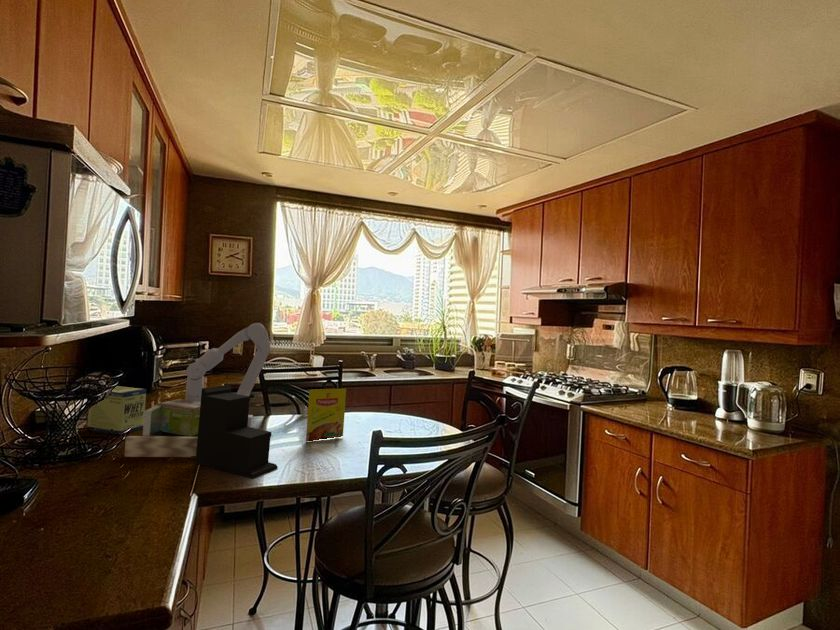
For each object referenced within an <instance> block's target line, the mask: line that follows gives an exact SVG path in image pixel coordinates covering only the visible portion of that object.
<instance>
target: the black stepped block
mask: <svg viewBox="0 0 840 630" xmlns="http://www.w3.org/2000/svg"><path fill="white" fill-rule="evenodd" d="M250 402H251V396H250V395H249V396H245V395H239V394H237V393H234V392H233V393H232V385H231V384H226V385H225V384H224V385H217V386H209V387H208V386H207V387H204V388H202V393H201V404H200V416H199V427H198V438H197V450H196V457H195V460H194V461H195V464H197V465H198V464H199V465H203V466H204V467H205V466H206V467H208V468H209V467H210V468H212V469H215V470H218V471H219V470H220V471H223V472H227V473H230V474H234V475H237V476H240V477H241V476H242V477H245V478H249V479H256V478H258V477H260V476H263V475H266V474H268V473H270V472H273V471H276V470H278V465H277V463H273V462H269V460H270V459H269V458H270V457H269V456H270V445H271V437H272V431H268V430H264V429H259V428H254V427H253V428H251V427H247V426H248V415H250V414H249V413H250Z"/></svg>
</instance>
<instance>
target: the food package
mask: <svg viewBox="0 0 840 630" xmlns="http://www.w3.org/2000/svg"><path fill="white" fill-rule="evenodd" d="M308 391H309V393H308V405H307V407H308V408H307V419H306V420H307V421H306V435H305V436H306V437H305V442H306V441H313V440H319V439H327V438H334V437H341V436H343V437H344V426H345V425H344V423H345V410H346V397H347V396H346V395H347V388H323V389H319V388H318V389H309V390H308Z"/></svg>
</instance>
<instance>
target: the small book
mask: <svg viewBox="0 0 840 630" xmlns="http://www.w3.org/2000/svg"><path fill="white" fill-rule="evenodd" d="M161 417H162V406H158V405H157V404H156V405H154V406H152V407H150V408H148V409H145V412H144V425H143V429H142V436H160V430H161Z"/></svg>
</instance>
